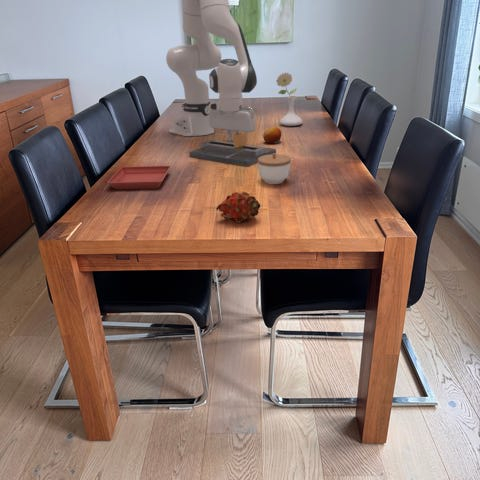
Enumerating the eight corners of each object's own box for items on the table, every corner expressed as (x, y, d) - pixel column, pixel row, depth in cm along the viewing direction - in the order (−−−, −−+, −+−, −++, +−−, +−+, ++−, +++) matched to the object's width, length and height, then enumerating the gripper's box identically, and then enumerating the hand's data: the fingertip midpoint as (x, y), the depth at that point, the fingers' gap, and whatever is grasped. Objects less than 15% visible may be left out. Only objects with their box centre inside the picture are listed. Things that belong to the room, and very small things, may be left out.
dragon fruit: (264, 226, 127) (221, 232, 129) (262, 200, 131) (220, 206, 133) (259, 210, 120) (213, 216, 122) (257, 182, 124) (213, 189, 126)
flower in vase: (302, 122, 239) (303, 70, 228) (302, 127, 228) (304, 73, 218) (276, 122, 240) (276, 71, 229) (275, 127, 230) (275, 73, 219)
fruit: (284, 141, 198) (275, 125, 196) (268, 151, 201) (259, 134, 199) (286, 137, 205) (277, 121, 203) (271, 146, 208) (262, 130, 206)
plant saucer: (122, 175, 170) (121, 166, 168) (171, 174, 169) (171, 165, 167) (108, 192, 153) (106, 182, 152) (162, 191, 152) (161, 181, 151)
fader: (234, 152, 183) (233, 134, 180) (241, 149, 186) (240, 132, 184) (238, 152, 182) (237, 135, 179) (245, 149, 185) (245, 132, 182)
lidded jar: (281, 188, 150) (281, 159, 146) (252, 183, 155) (251, 155, 151) (295, 178, 158) (296, 151, 154) (267, 174, 163) (267, 148, 159)
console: (189, 156, 187) (188, 146, 185) (220, 145, 202) (219, 136, 200) (247, 166, 172) (247, 156, 170) (275, 153, 187) (275, 144, 185)
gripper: (258, 105, 175) (259, 142, 181) (215, 102, 186) (217, 136, 192) (248, 108, 170) (249, 146, 176) (205, 104, 181) (207, 140, 187)
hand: (232, 141), depth 184 cm, fingers closed
